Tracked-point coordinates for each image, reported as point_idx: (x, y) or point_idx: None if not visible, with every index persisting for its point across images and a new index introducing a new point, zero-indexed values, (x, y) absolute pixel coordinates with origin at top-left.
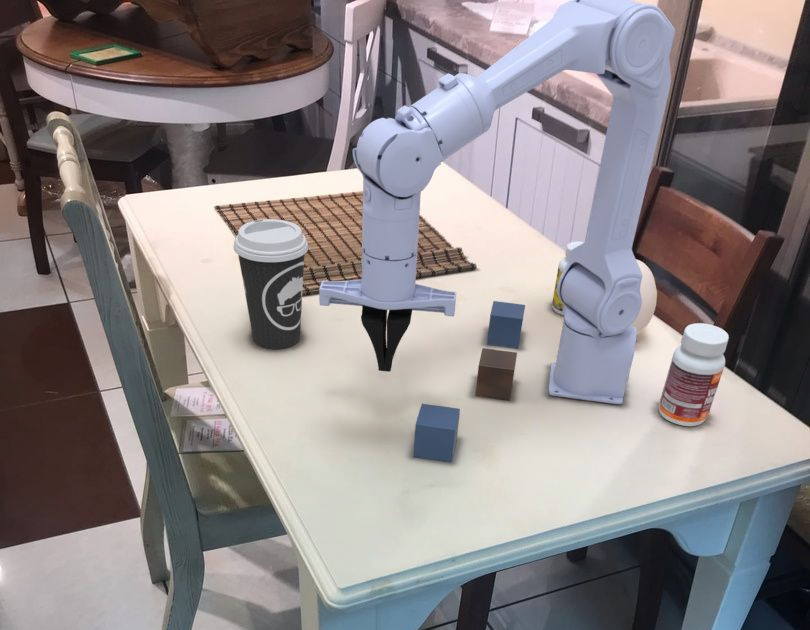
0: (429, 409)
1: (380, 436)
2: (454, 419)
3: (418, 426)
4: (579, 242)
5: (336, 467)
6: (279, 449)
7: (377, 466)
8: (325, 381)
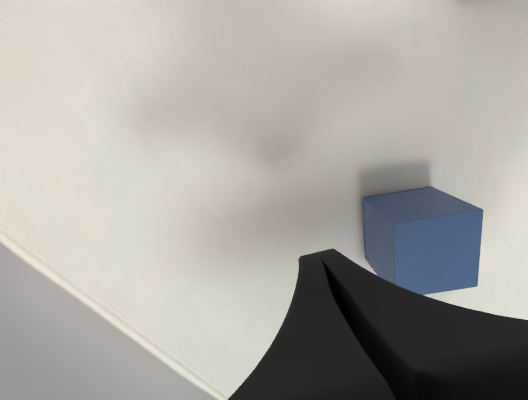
0: (414, 238)
1: (294, 225)
2: (474, 254)
3: None
4: None
5: (257, 323)
6: (154, 317)
7: None
8: (105, 77)
